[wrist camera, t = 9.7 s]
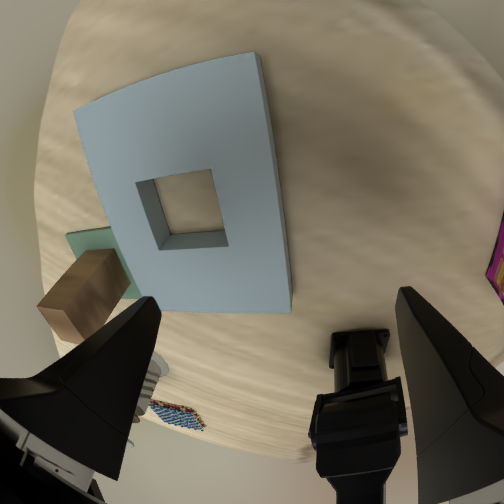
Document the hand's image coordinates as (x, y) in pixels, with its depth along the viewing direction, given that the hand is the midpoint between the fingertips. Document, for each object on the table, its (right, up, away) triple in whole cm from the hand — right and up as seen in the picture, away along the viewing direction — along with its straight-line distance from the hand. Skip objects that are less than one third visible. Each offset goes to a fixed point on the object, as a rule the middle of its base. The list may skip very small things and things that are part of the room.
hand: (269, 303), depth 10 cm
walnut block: (-16, 0, +18) cm, 24 cm away
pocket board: (-5, +6, +12) cm, 15 cm away
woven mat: (-16, -31, +41) cm, 54 cm away
